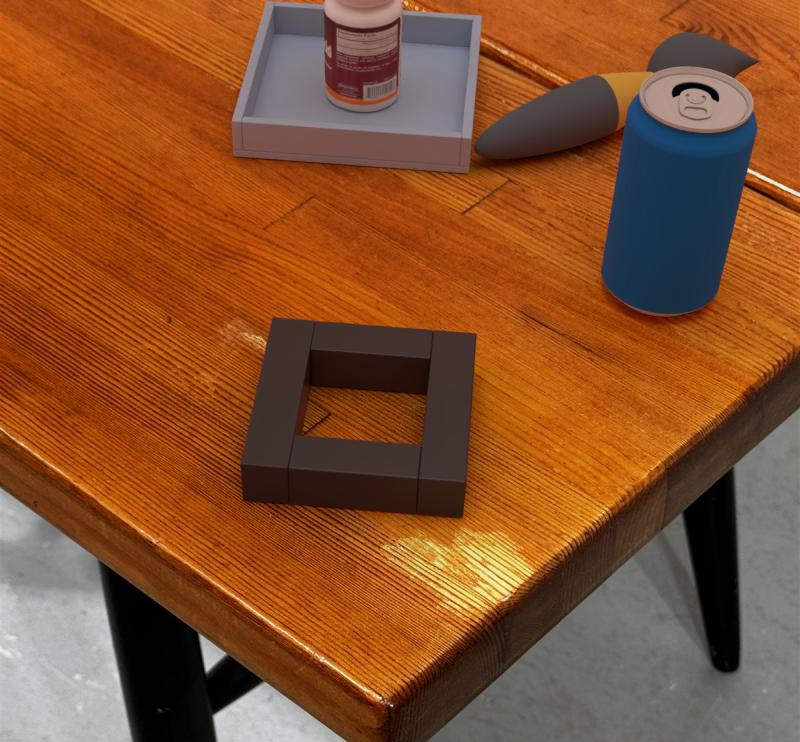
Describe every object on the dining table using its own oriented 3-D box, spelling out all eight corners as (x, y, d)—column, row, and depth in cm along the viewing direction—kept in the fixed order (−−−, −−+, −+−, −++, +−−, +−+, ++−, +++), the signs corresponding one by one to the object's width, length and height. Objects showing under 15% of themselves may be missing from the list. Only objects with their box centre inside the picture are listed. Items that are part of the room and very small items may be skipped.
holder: (242, 500, 69) (240, 464, 67) (273, 353, 76) (272, 316, 74) (462, 518, 68) (466, 482, 66) (473, 369, 75) (476, 332, 73)
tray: (233, 156, 88) (231, 120, 86) (267, 35, 97) (266, 0, 95) (469, 174, 87) (471, 138, 85) (479, 49, 97) (482, 15, 95)
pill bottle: (332, 69, 94) (331, -55, 88) (405, 78, 93) (409, -47, 87) (317, 109, 90) (315, -17, 84) (393, 118, 90) (397, -8, 84)
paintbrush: (509, 199, 85) (516, 125, 82) (461, 157, 88) (467, 84, 85) (762, 108, 93) (779, 37, 89) (711, 72, 96) (725, 1, 92)
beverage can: (716, 257, 82) (761, 68, 73) (717, 332, 78) (765, 140, 69) (601, 245, 83) (632, 56, 74) (596, 318, 78) (628, 126, 70)
